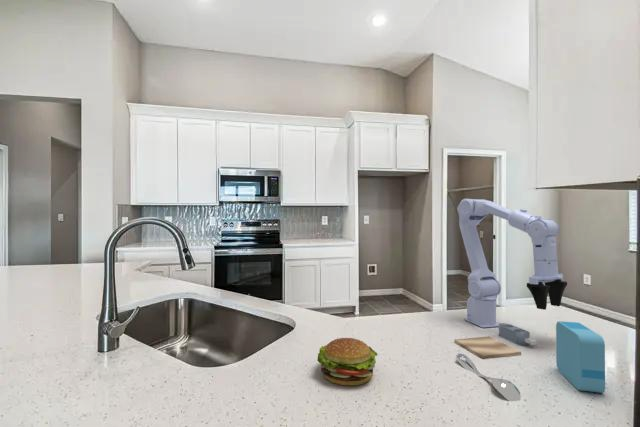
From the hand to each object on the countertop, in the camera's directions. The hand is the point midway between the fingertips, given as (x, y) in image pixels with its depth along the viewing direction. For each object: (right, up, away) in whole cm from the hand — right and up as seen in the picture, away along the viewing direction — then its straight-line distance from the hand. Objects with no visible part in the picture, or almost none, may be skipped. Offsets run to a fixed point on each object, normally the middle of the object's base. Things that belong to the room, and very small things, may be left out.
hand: (548, 307), depth 97 cm
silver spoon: (-29, -11, -20) cm, 37 cm away
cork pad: (-19, -11, -2) cm, 22 cm away
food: (-60, -11, -18) cm, 64 cm away
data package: (-8, -11, -21) cm, 25 cm away
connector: (-7, -11, +3) cm, 14 cm away
